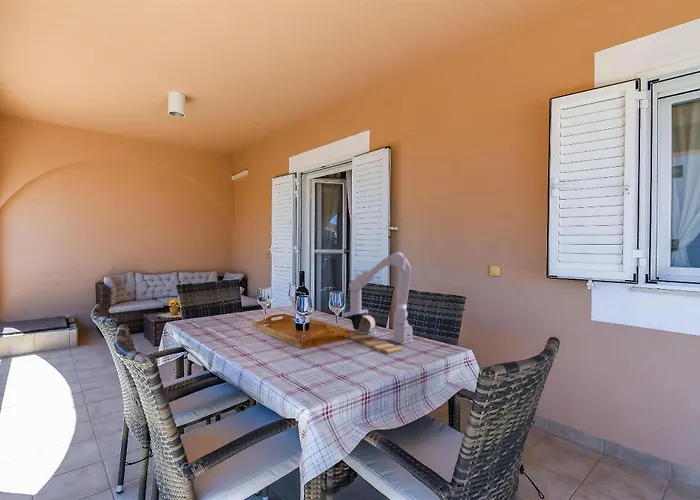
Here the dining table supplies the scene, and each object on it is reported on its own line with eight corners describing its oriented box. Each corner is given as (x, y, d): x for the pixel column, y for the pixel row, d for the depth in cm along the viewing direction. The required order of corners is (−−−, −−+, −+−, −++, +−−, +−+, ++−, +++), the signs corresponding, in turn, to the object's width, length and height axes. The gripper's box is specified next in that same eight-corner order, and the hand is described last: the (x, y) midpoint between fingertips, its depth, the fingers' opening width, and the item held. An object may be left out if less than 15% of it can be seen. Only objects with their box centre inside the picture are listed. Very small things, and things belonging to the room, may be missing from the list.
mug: (356, 323, 203) (351, 326, 192) (366, 311, 202) (361, 313, 191) (373, 338, 199) (368, 341, 189) (383, 326, 198) (379, 328, 188)
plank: (373, 340, 183) (373, 337, 183) (359, 343, 178) (359, 340, 178) (354, 333, 196) (354, 330, 196) (340, 336, 191) (341, 333, 191)
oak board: (402, 350, 167) (402, 347, 167) (388, 354, 161) (388, 350, 161) (374, 340, 183) (374, 337, 183) (360, 343, 177) (360, 340, 177)
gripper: (362, 300, 195) (362, 325, 195) (339, 303, 186) (339, 329, 187) (370, 302, 189) (370, 328, 189) (347, 305, 180) (347, 332, 181)
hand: (355, 329), depth 188 cm, fingers closed
